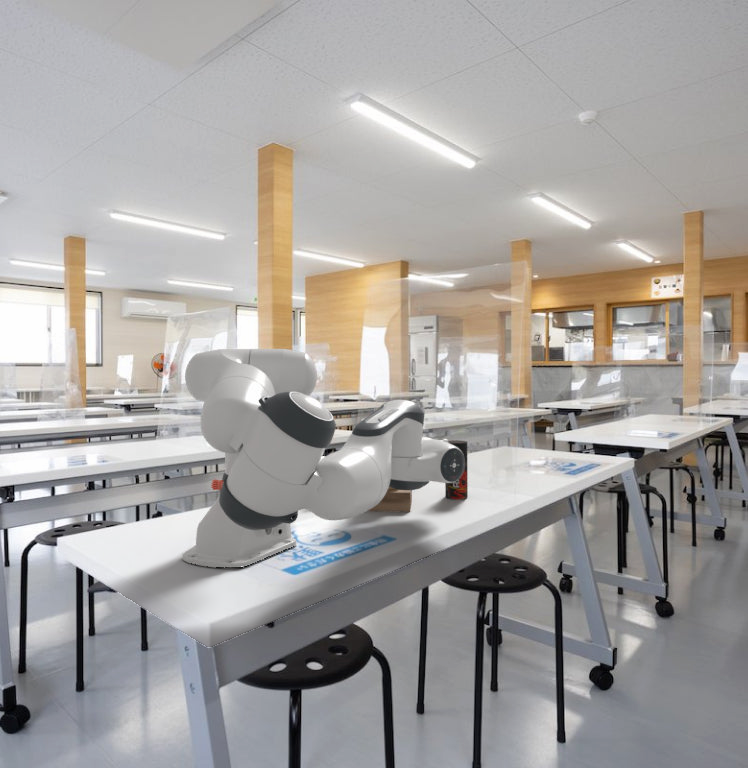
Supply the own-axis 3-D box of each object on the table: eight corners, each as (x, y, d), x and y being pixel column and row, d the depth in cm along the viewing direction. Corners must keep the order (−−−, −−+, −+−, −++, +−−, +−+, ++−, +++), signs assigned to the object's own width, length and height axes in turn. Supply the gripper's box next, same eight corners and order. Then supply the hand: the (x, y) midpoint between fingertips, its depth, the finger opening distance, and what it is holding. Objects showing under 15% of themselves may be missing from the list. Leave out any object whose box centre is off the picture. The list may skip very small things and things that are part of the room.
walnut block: (410, 513, 135) (410, 492, 134) (365, 512, 136) (365, 492, 136) (411, 502, 145) (411, 483, 145) (370, 501, 147) (370, 482, 147)
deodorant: (463, 494, 153) (463, 440, 153) (470, 499, 147) (470, 442, 147) (442, 494, 152) (442, 440, 152) (449, 500, 146) (448, 443, 146)
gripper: (376, 472, 123) (352, 463, 136) (454, 465, 131) (425, 457, 144) (375, 444, 123) (352, 437, 135) (454, 438, 131) (425, 433, 144)
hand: (390, 447), depth 140 cm, fingers open, 8 cm apart
